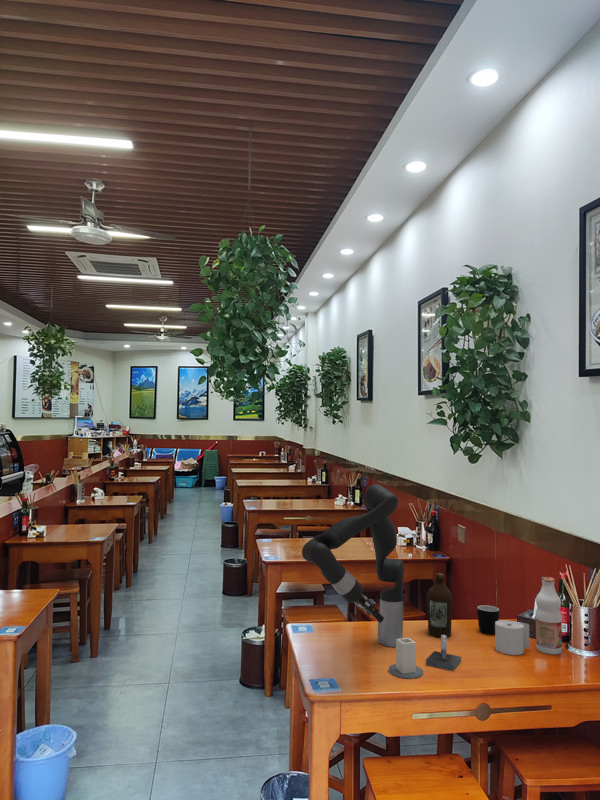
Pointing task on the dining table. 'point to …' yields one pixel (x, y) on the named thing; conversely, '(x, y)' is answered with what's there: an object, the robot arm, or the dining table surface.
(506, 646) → the toilet tissue
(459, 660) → the post stand
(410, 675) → the mat
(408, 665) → the sleeve
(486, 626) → the mug
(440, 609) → the olive oil
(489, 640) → the dining table surface
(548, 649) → the fruit juice
